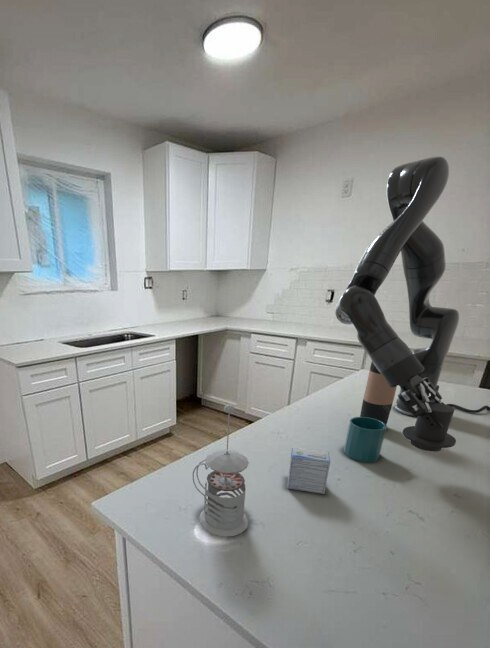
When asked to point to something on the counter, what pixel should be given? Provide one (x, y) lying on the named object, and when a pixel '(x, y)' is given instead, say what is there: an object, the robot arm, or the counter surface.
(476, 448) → the counter surface
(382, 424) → the cup
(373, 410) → the travel mug
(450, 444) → the dark grey top hat
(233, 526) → the french press
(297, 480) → the medicine box
